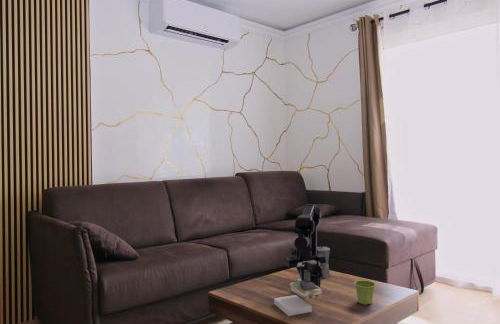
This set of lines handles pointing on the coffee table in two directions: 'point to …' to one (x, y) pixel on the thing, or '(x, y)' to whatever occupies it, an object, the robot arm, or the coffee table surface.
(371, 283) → the plant pot
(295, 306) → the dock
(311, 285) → the charcoal block
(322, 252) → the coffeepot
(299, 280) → the teal block
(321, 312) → the coffee table surface
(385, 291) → the coffee table surface
